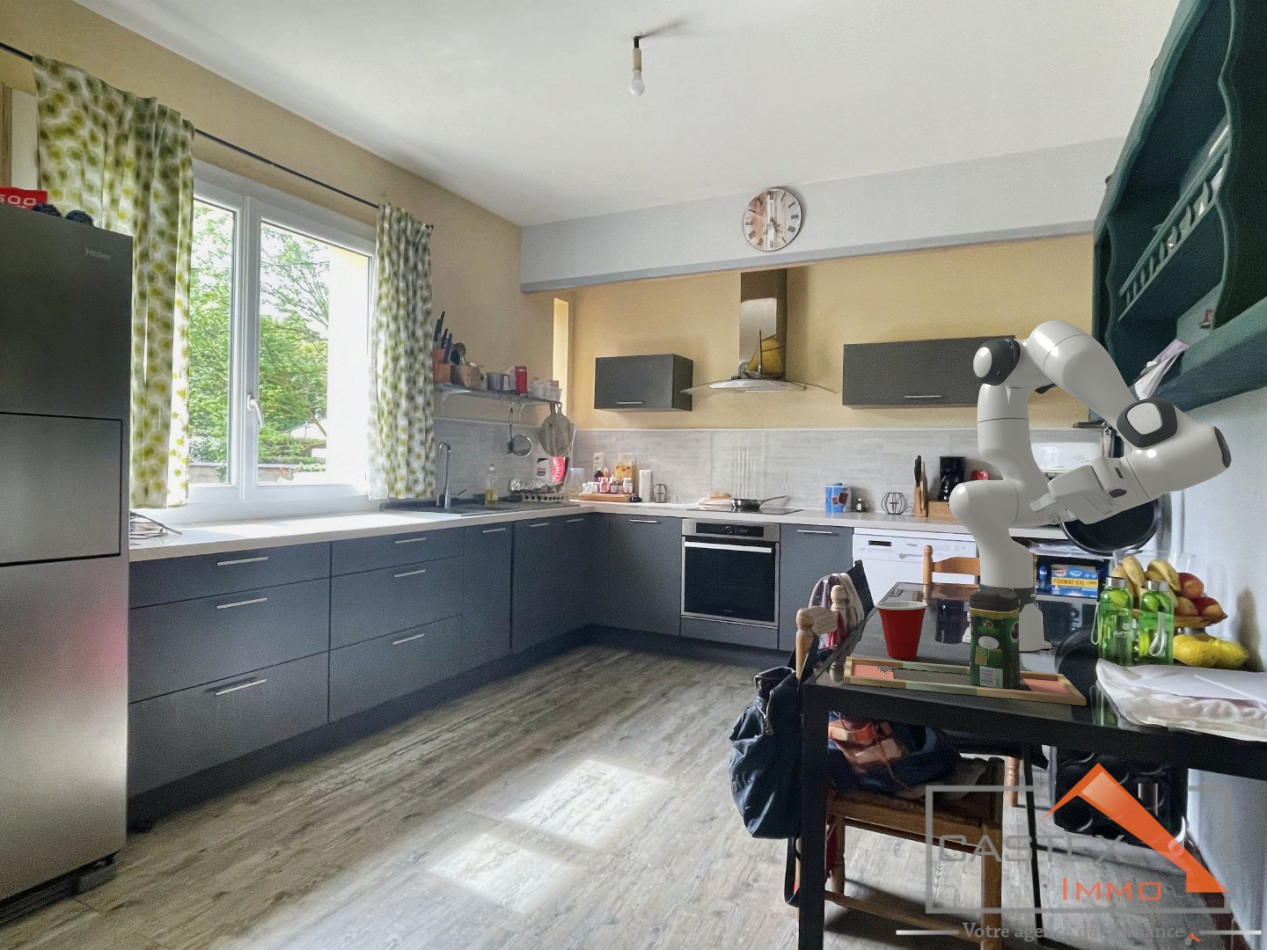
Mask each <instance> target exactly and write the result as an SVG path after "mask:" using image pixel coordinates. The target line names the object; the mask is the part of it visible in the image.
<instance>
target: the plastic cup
mask: <svg viewBox="0 0 1267 950" xmlns="http://www.w3.org/2000/svg"><path fill="white" fill-rule="evenodd" d="M874 606H875V607H876V608H877V610H878V614H879V617H880V619H881V620H880V621H881V626H882V630H883V637H884V641H885V646H886V652H887V655H889V656H890V657H889V656H888V657H889V658H891V657H893V658H892V659H894V658H897V659H896V660H899V659H905V660H904V661H911V659H913V660H916V658H917V655H918V649H919V644H920V640H921V636H922V629H923V623H924V617H925V614H926V608H927V607H928V603H926V602H922V601H912V600H895V601H893V600H891V601H890V600H889V601H881V602H877V603H876V604H875V605H874ZM909 659H910V660H909Z"/></svg>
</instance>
